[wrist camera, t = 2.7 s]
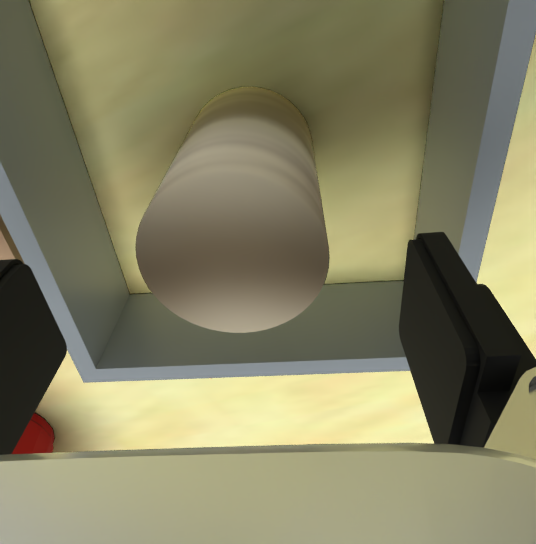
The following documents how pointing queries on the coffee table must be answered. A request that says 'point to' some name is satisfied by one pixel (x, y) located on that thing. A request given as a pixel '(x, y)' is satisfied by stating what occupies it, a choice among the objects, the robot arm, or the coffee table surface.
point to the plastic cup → (36, 437)
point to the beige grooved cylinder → (238, 218)
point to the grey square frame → (332, 297)
